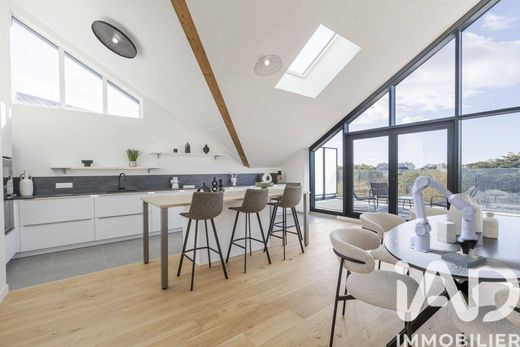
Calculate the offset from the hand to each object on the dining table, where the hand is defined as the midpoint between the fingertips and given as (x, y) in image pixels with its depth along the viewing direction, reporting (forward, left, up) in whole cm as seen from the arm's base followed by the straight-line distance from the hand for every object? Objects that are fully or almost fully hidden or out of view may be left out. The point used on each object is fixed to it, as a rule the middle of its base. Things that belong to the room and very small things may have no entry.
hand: (467, 253), depth 132 cm
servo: (0, 0, -3) cm, 3 cm away
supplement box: (-24, +24, -4) cm, 34 cm away
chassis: (0, -4, -3) cm, 5 cm away
